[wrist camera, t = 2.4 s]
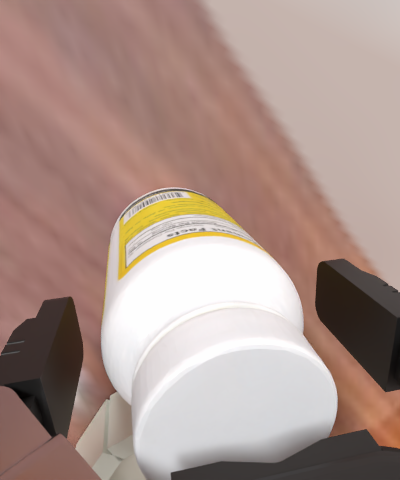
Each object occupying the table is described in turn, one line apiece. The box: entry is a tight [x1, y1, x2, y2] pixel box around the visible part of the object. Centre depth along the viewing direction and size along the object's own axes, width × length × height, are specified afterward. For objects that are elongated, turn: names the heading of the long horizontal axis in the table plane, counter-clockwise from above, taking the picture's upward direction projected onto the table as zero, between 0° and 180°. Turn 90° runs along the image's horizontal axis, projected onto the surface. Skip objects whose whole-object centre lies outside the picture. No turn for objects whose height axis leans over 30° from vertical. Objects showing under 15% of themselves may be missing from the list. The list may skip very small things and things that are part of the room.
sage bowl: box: [76, 392, 147, 480], centre depth 19 cm, size 13×13×3 cm
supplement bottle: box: [101, 188, 338, 480], centre depth 11 cm, size 5×5×10 cm
